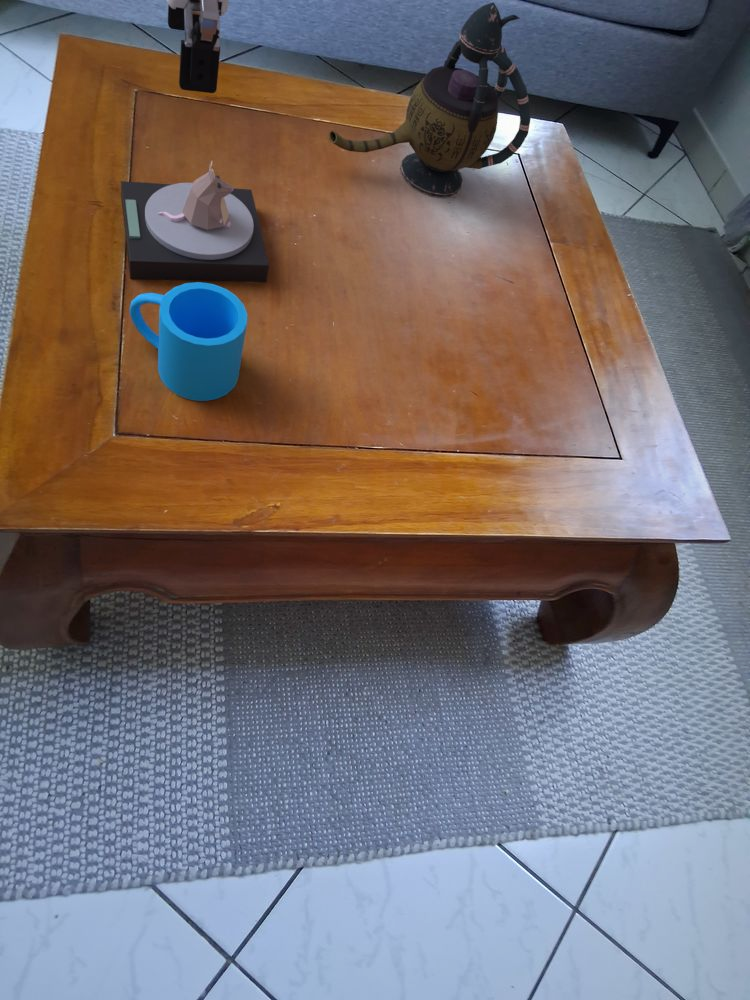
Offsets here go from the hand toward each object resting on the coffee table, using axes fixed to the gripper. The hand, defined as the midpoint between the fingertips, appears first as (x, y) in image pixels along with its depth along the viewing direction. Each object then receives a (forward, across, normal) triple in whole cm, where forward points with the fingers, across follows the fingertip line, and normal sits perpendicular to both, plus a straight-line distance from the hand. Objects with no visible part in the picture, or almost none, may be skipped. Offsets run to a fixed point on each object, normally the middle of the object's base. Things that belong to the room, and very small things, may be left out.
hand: (191, 58), depth 70 cm
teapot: (+21, -16, +33) cm, 42 cm away
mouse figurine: (+18, -1, +2) cm, 19 cm away
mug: (+22, +17, -2) cm, 28 cm away
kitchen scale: (+22, -1, +2) cm, 22 cm away
